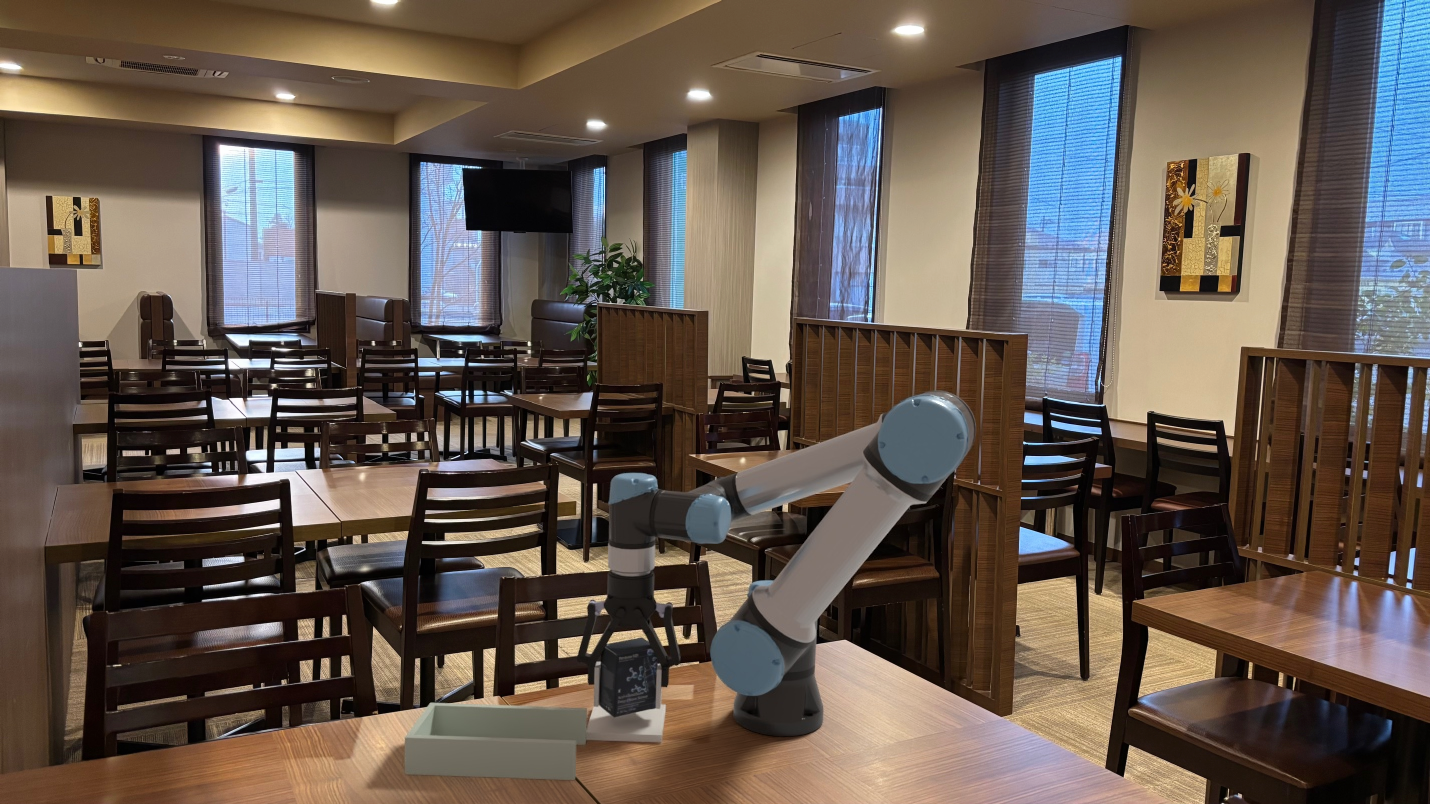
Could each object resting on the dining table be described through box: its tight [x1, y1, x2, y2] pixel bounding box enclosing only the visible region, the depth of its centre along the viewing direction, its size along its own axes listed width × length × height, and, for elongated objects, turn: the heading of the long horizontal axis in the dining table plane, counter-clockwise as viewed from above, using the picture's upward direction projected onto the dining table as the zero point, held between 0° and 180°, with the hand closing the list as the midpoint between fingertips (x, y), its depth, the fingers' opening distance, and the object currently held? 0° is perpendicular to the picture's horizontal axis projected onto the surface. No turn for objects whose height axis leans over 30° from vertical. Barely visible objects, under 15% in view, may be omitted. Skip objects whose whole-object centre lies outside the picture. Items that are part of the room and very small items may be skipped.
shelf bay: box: [404, 702, 588, 781], centre depth 148 cm, size 24×12×6 cm, turn 90°
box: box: [599, 637, 659, 718], centre depth 161 cm, size 8×6×11 cm
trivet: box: [586, 703, 667, 744], centre depth 161 cm, size 12×12×1 cm
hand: (627, 704), depth 161 cm, fingers closed on box, 9 cm apart
